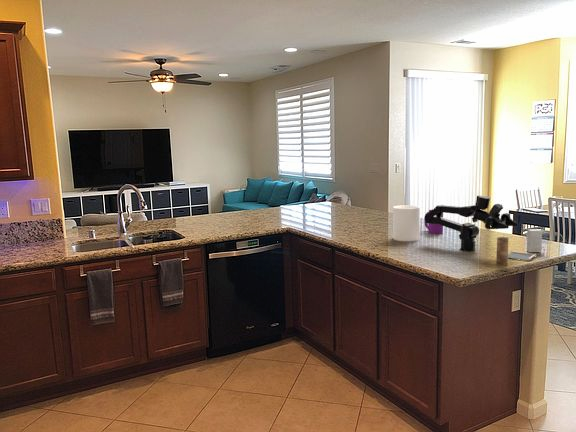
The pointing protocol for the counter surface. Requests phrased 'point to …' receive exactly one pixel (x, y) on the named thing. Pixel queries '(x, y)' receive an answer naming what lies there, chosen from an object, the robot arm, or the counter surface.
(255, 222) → the counter surface
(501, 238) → the brown cylinder
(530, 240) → the skincare box
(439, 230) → the mug
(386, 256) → the counter surface
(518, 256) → the slate mat
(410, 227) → the canister
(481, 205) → the robot arm
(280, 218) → the counter surface
